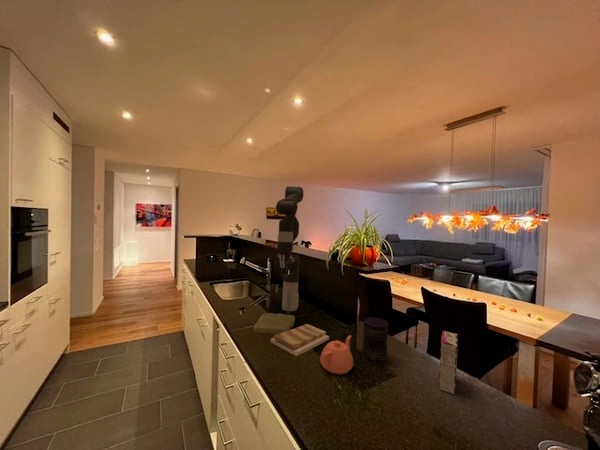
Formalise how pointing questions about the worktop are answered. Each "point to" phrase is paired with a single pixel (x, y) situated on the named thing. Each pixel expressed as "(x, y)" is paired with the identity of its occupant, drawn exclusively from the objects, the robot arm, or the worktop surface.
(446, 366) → the candy bar box
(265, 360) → the worktop surface
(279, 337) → the honey oak plank
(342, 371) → the teapot
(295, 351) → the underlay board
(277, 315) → the decorative tile
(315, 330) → the light oak plank
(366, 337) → the storage jar
